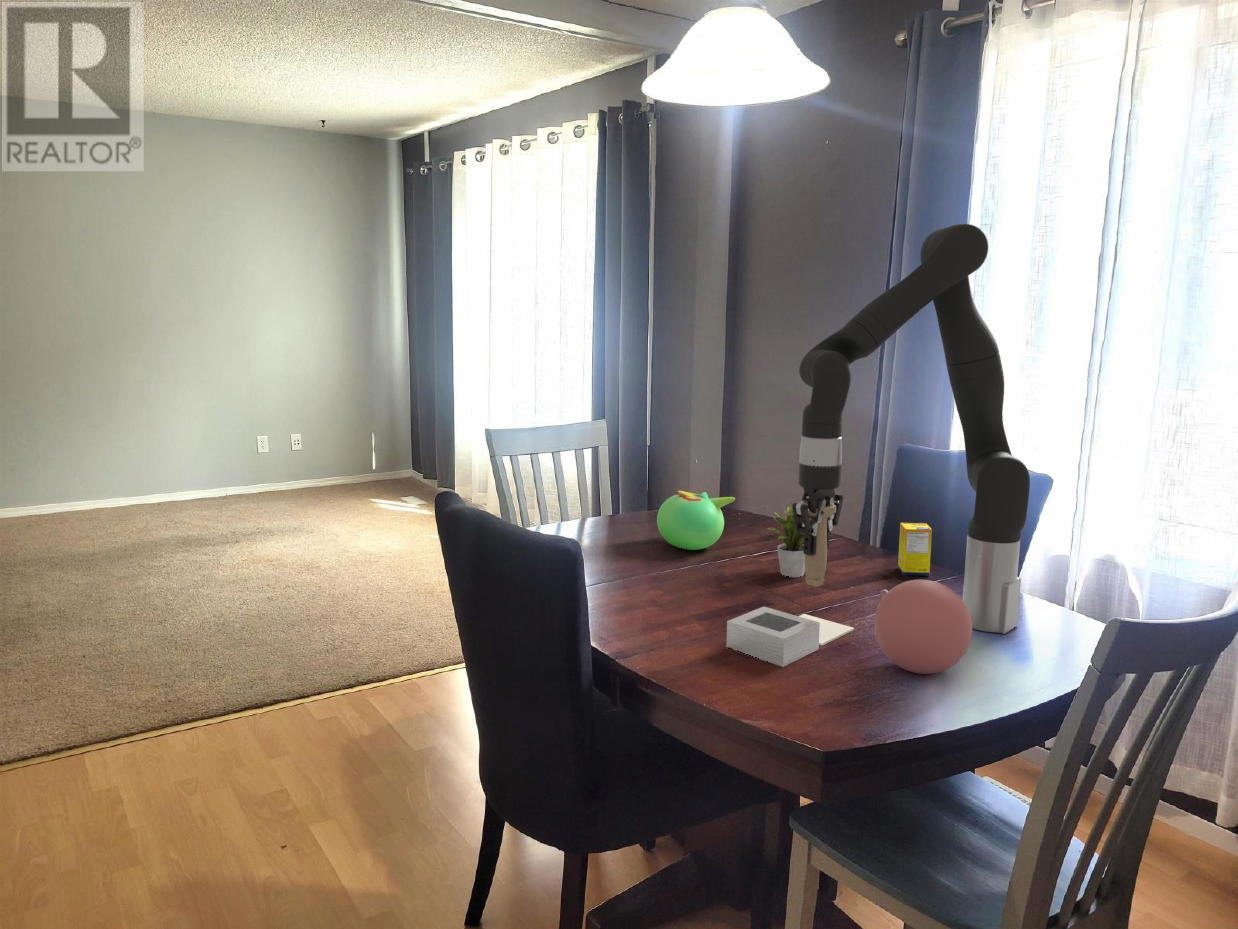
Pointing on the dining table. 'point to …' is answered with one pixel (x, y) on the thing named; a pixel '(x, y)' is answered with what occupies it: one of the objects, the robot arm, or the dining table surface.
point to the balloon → (922, 626)
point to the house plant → (790, 546)
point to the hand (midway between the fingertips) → (816, 551)
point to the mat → (828, 629)
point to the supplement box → (914, 549)
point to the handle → (818, 549)
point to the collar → (773, 635)
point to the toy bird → (692, 520)
